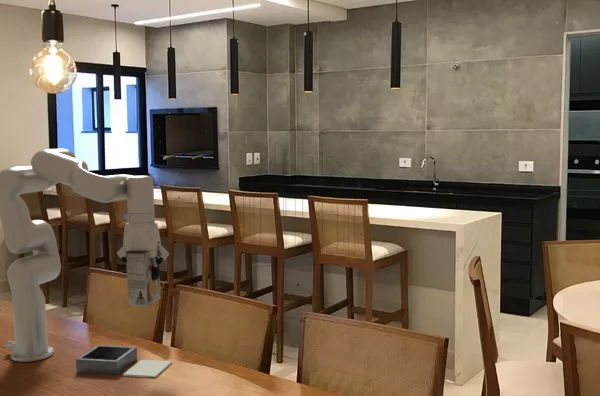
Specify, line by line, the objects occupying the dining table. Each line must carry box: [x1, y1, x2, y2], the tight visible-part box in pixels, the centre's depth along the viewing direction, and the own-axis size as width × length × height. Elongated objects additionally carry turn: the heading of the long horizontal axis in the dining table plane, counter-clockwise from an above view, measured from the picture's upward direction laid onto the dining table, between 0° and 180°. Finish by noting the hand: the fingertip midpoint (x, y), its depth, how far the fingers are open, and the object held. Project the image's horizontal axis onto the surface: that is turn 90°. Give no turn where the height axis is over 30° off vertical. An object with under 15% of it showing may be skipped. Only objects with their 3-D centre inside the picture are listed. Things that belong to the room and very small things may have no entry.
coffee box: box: [125, 251, 162, 308], centre depth 192 cm, size 9×6×16 cm
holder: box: [75, 344, 138, 376], centre depth 198 cm, size 13×13×4 cm
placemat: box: [122, 359, 173, 379], centre depth 195 cm, size 10×12×1 cm
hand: (143, 278), depth 192 cm, fingers closed on coffee box, 6 cm apart
